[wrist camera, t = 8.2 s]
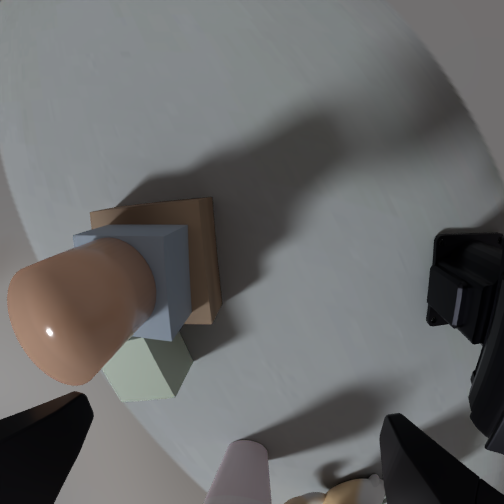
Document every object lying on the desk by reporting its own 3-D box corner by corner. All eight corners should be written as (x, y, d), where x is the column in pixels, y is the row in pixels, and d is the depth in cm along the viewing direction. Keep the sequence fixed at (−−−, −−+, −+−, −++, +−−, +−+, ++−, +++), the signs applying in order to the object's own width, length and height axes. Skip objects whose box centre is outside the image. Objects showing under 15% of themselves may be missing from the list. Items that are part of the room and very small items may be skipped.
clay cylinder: (146, 232, 13) (76, 263, 8) (165, 330, 14) (115, 394, 9) (68, 241, 13) (-5, 269, 8) (89, 327, 14) (31, 375, 9)
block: (169, 307, 21) (143, 337, 17) (193, 360, 22) (175, 397, 17) (120, 320, 22) (90, 348, 17) (145, 369, 22) (121, 402, 18)
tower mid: (187, 224, 16) (163, 236, 13) (191, 312, 17) (171, 341, 14) (108, 224, 17) (73, 235, 13) (116, 304, 18) (87, 328, 14)
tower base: (213, 196, 19) (198, 200, 16) (223, 301, 21) (211, 324, 17) (117, 206, 20) (89, 212, 17) (131, 301, 21) (108, 320, 18)
